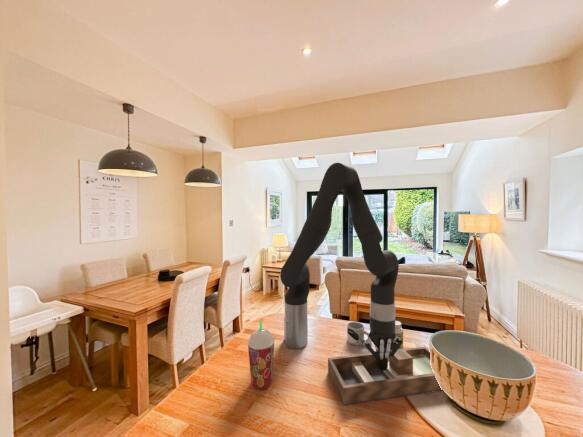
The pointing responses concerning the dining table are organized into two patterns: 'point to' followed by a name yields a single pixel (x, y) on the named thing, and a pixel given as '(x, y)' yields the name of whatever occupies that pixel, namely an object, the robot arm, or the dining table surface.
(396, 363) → the walnut block
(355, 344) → the mug
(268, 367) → the smoothie
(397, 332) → the supplement bottle
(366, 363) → the wooden compartment tray
